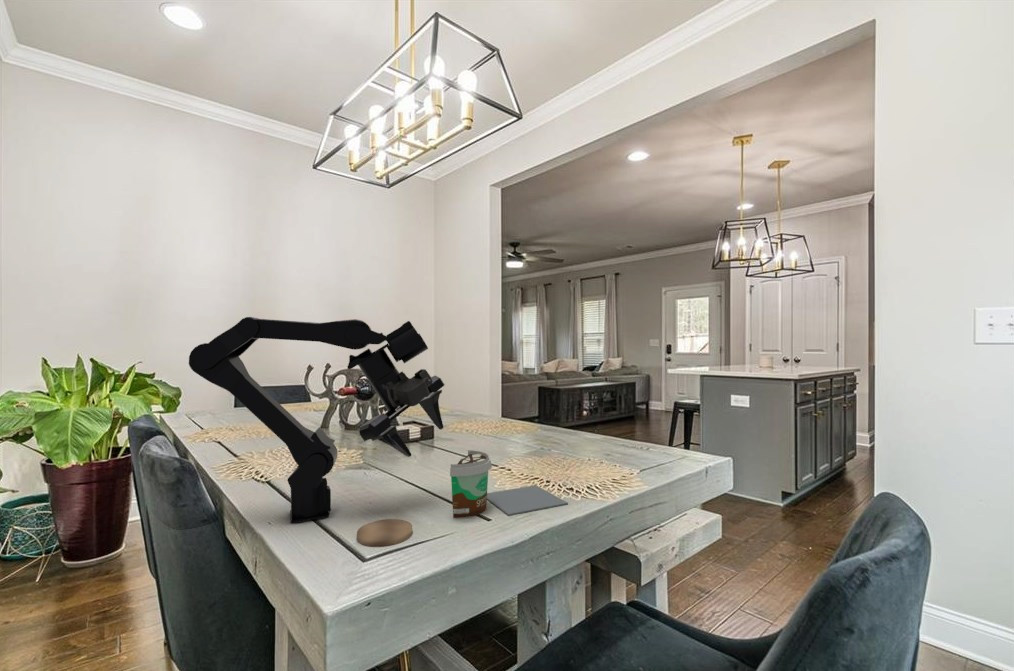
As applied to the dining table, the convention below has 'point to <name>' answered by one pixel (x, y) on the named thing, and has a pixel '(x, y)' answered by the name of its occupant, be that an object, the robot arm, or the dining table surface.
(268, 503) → the dining table surface
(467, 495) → the food container
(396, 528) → the walnut coaster
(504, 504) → the rubber mat
